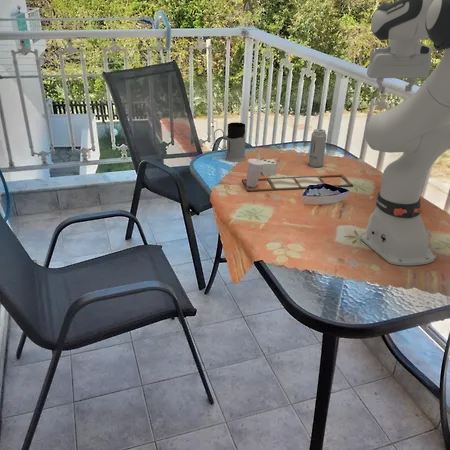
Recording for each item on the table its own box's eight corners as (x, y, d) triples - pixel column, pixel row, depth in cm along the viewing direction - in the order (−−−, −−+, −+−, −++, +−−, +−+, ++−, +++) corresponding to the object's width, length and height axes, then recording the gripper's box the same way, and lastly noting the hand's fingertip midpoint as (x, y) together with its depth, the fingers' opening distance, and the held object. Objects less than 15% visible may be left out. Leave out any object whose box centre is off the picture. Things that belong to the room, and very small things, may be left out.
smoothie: (259, 190, 174) (266, 154, 168) (242, 187, 174) (249, 151, 168) (259, 183, 180) (266, 149, 174) (243, 180, 180) (250, 146, 174)
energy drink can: (305, 164, 199) (309, 129, 192) (317, 162, 201) (321, 127, 194) (313, 168, 194) (317, 133, 187) (325, 166, 196) (330, 131, 189)
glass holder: (248, 161, 201) (249, 127, 194) (216, 163, 198) (216, 129, 191) (242, 154, 208) (243, 121, 201) (211, 157, 205) (211, 123, 198)
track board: (353, 186, 178) (353, 185, 178) (247, 192, 172) (247, 190, 172) (342, 175, 187) (342, 174, 187) (242, 180, 182) (242, 179, 182)
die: (275, 175, 187) (276, 163, 185) (263, 175, 187) (264, 163, 184) (272, 170, 192) (273, 158, 189) (260, 171, 191) (261, 159, 189)
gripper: (375, 49, 144) (368, 94, 150) (437, 48, 147) (427, 93, 153) (367, 46, 149) (360, 90, 156) (426, 45, 152) (418, 88, 159)
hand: (394, 91), depth 155 cm, fingers open, 8 cm apart
